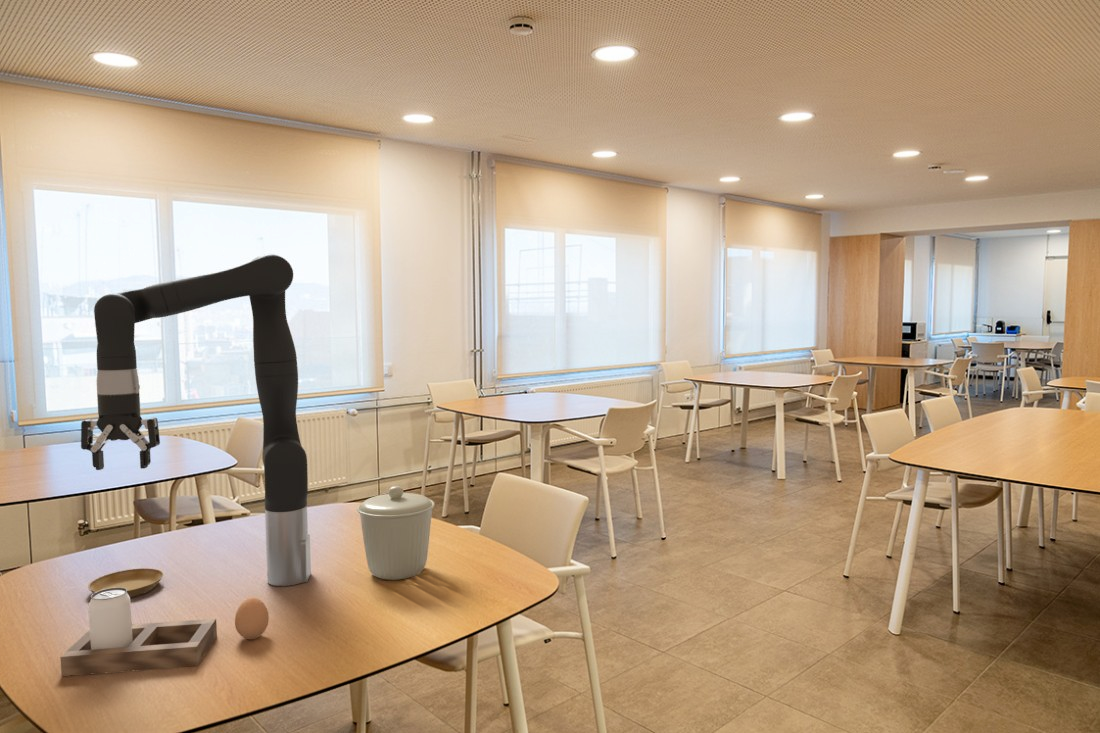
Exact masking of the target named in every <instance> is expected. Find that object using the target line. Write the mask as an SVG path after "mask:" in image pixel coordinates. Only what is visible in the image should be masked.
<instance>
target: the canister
mask: <svg viewBox="0 0 1100 733" xmlns="http://www.w3.org/2000/svg"><path fill="white" fill-rule="evenodd" d="M435 504H436V503H435V502H434V501H433V500H432V499H430V498H428V497H427V496H425V495H421V494H419V493H413V492H412V493H411V492H404V488H403V487H402V486H400V485H392V486H391V487H389V489H388V491H387V493H385V494H378V495H375V496H372V497H370V498H367V499H365V500H364V501H363V502H362V503H360V504H358V506H357V507H356V511H357V513H359V516H360V525H361V531H362V532H361V533H362V537H363V538H362V539H363V545H364V550H365V551H364V554H365V556H366V557H365V558H366V563H367V567H368V570H369V572H370V573H371V574H372V575H373V576H374V577H376V578H378V579H381V580H387V581H388V580H389V581H397V580H399V581H400V580H405V579H410V578H413V577H414V576H415V577H416V576H418V575H419V574H420V573H422V572H423V570H424V569H425V567H426V565H427V560H428V552H429V545H430V535H431V523H432V512H433V509H434V507H435Z"/></svg>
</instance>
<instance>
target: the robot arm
mask: <svg viewBox="0 0 1100 733" xmlns="http://www.w3.org/2000/svg"><path fill="white" fill-rule="evenodd" d="M293 279H294V269H293V268H292V265H291V264H290V262H289V261H287V259H285V258H284V257H282V256H280V255H277V254H274V253H268V254H261V255H260V256H257V257H255V258H253V259H252V260H251V261H249V262H246V263H244V264H241V265H239V266H235V267H233V268H227V269H226V270H225V269H224V270H220V271H218V272H216V271H215V272H211V273H207V274H200V275H195V276H189V277H183V278H178V279H173V280H168V281H164V282H159V283H155V284H151V285H149V286H146V287H144V288H140V289H134V290H129V291H123V292H118V293H107V294H106V295H103V296H101V297H100V298H99V299H98V300H96V302H95V305H94V307H93V308H94V309H93V315H94V323H95V332H96V333H95V334H96V340H97V341H96V342H97V345H96V346H97V347H96V369H97V373H96V394H97V396H96V397H97V399H96V400H97V414H98V418H97V420H95V419H94V420H93V419H92V418H88V419H85V420H83V421H81V425H80V426H81V430H80V448H81V450H84V451H85V450H87V451H90V452H91V455H92V457H91V458H92V459H91V460H92V466H93V468H95V470H96V471H102V470H104V468H105V463H104V462H105V460H104V457H105V456H104V450H102V449H103V448H104V447H105V446H106V445H107V443H108V442H109V441H112V442H114V441H118V440H119V441H128V440H131V442H133V443H134V444H136V445H137V447H138V448H139V449H140V451H139V467H140V469H142V470H143V469H147V468H148V467H149V465H150V464H151V463H152V462H151V449H152V448H156V447H157V446H160V444H161V441H160V440H161V438H160V432H159V431H160V430H159V421H158V418H157V417H155V416H154V417H151V418H142V416H141V401H140V400H141V399H140V398H141V397H140V396H141V395H140V388H141V387H140V380H139V375H138V365H137V351H136V345H135V324H137V323H138V324H139V323H140V322H145V321H148V320H151V319H159V318H165V317H170V316H174V315H178V314H183V313H186V312H190V311H193V310H198V309H200V308H204V307H207V306H210V305H214V304H217V303H221V302H224V301H228V300H233V299H237V298H242V297H249V301H250V307H251V312H252V313H251V314H252V328H253V329H252V342H253V346H252V347H253V362H254V363H253V364H254V375H255V383H256V384H255V385H256V391H257V395H258V401H259V405H260V409H261V414H262V422H263V424H262V425H263V426H262V427H263V435H262V436H263V440H262V441H263V443H262V455H261V456H262V457H261V459H262V464H263V469H264V470H263V471H264V473H263V475H264V514H265V515H264V517H265V521H264V522H265V547H266V552H265V553H266V575H267V577H266V578H267V580H266V581H267V583H268V584H269V585H270V586H274V587H275V586H276V587H287V586H294V585H299V584H301V583H307V582H308V581H309V578H310V576H311V574H312V564H311V536H310V535H311V534H309V528H308V527H309V526H308V525H309V524H308V492H309V486H308V484H309V480H308V477H309V476H308V473H309V472H308V456H307V452H306V451H305V448H304V447H303V446H302V443H301V439H300V434H299V429H298V428H299V426H298V421H297V401H298V393H299V391H298V390H299V367H298V360H297V359H298V357H297V351H296V347H295V343H294V340H293V336H292V333H291V330H290V326H289V323H288V320H287V311H286V310H287V308H286V291H287V290H288V289H289V288H290V286H291V285H292V283H293ZM142 426H144V429H146V430H147V433H148V440H147V439H146V436H145V435H144V434H143V433H142V432H141V430H140V429H141V427H142ZM96 427H97V428H98V429H99V430H100V431H101V433H100V434H99V436H98V437H97V438H96V441H95V442H94V439H93V438H94V430H96Z"/></svg>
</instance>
